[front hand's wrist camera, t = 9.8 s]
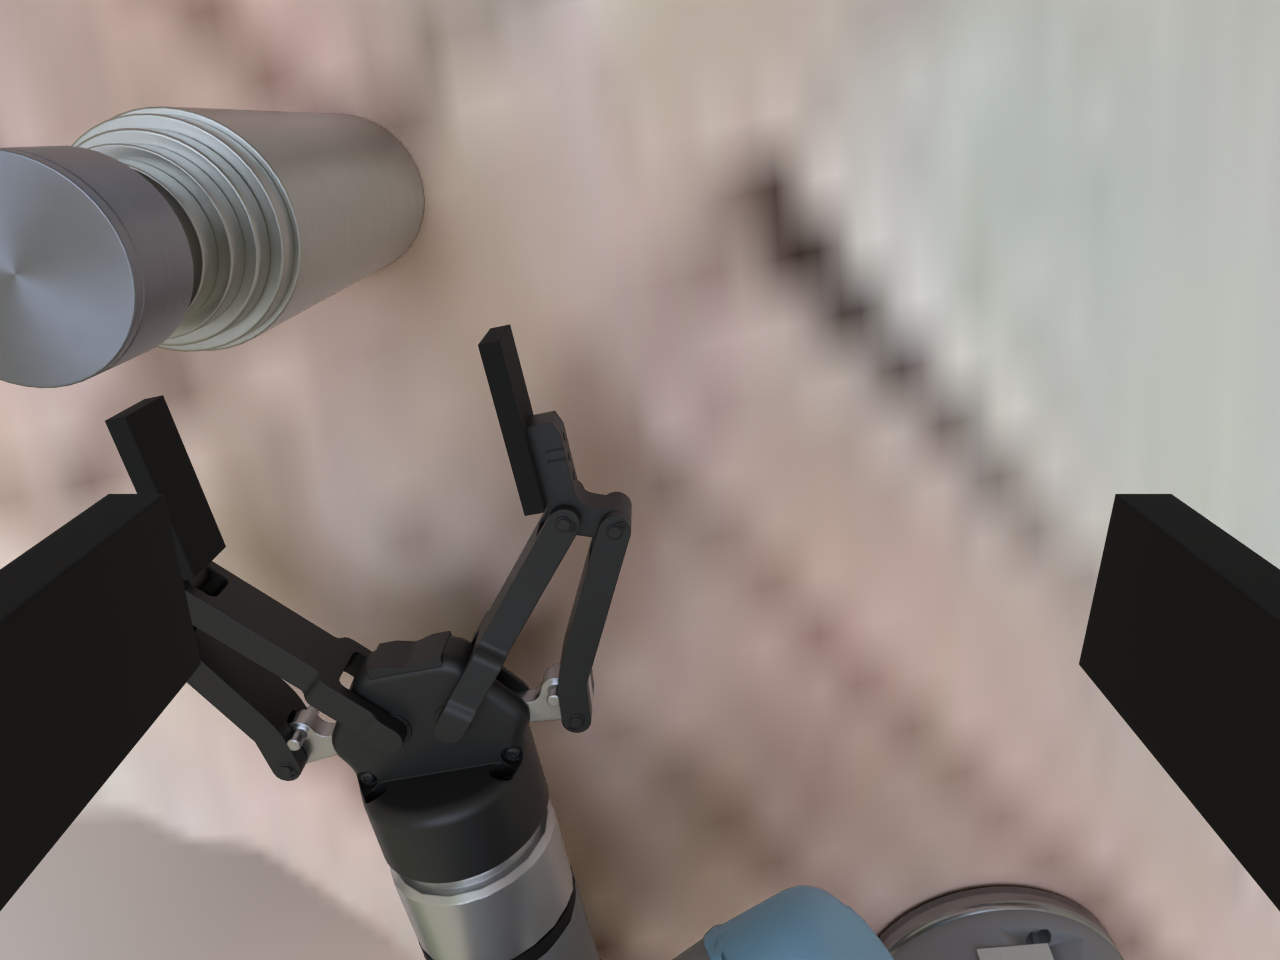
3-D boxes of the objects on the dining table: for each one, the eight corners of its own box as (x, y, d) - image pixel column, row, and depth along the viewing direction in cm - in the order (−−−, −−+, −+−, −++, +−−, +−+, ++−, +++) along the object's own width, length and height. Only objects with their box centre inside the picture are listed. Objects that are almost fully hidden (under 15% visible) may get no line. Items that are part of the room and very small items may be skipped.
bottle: (407, 290, 37) (170, 457, 18) (262, 245, 37) (-137, 371, 18) (439, 143, 35) (208, 161, 16) (286, 92, 35) (-140, 51, 16)
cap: (182, 382, 20) (123, 415, 18) (-23, 324, 19) (-110, 350, 17) (208, 185, 18) (147, 193, 16) (-14, 115, 18) (-109, 114, 16)
